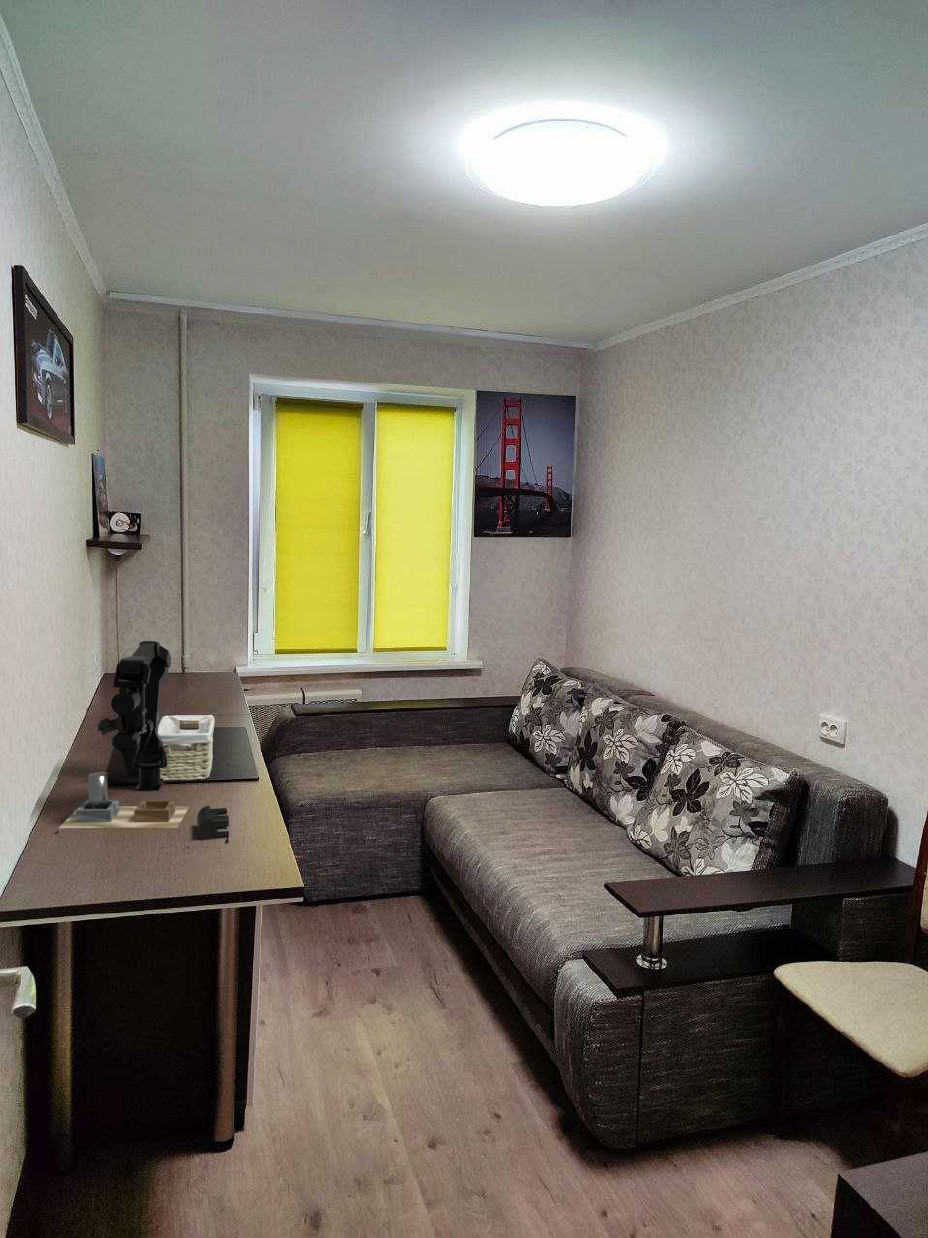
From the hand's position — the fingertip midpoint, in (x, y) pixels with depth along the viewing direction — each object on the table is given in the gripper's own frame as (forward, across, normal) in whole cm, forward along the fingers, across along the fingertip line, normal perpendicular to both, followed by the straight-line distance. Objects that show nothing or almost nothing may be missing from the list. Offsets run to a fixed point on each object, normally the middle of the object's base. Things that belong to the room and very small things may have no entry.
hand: (133, 764), depth 236 cm
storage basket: (+12, -35, +7) cm, 38 cm away
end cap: (+12, +22, +24) cm, 35 cm away
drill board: (+12, +11, +1) cm, 16 cm away
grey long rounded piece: (+10, +11, -6) cm, 16 cm away
